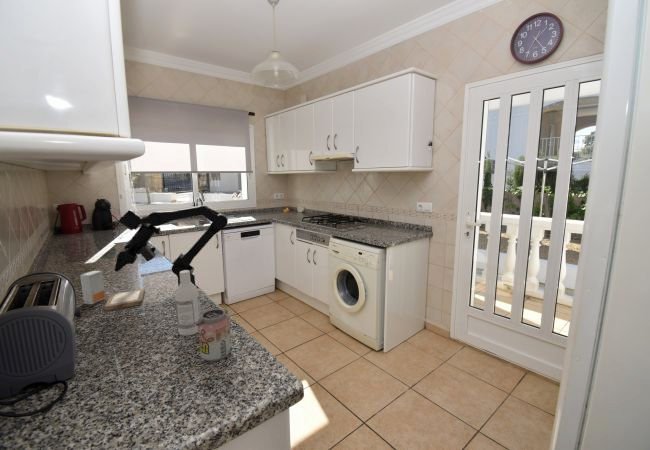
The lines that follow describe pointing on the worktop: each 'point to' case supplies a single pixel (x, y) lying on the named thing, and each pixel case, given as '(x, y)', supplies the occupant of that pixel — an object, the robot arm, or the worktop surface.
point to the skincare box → (92, 287)
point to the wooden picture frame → (125, 299)
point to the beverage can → (214, 334)
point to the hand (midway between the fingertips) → (118, 267)
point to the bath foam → (187, 305)
